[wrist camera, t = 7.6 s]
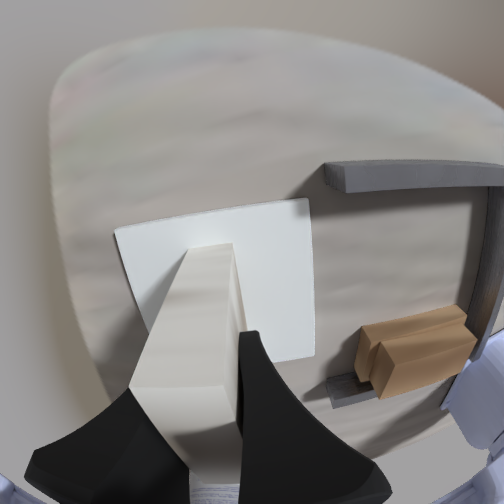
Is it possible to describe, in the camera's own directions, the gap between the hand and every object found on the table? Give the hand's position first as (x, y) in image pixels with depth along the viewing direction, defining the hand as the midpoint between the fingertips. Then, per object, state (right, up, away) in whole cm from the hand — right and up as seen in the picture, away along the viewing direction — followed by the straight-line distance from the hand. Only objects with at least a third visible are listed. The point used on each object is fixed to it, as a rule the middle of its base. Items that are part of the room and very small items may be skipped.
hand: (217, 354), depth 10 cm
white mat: (0, +2, +4) cm, 4 cm away
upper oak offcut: (+12, -2, +4) cm, 13 cm away
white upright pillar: (0, +1, +4) cm, 4 cm away
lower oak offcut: (+12, -2, +6) cm, 14 cm away
